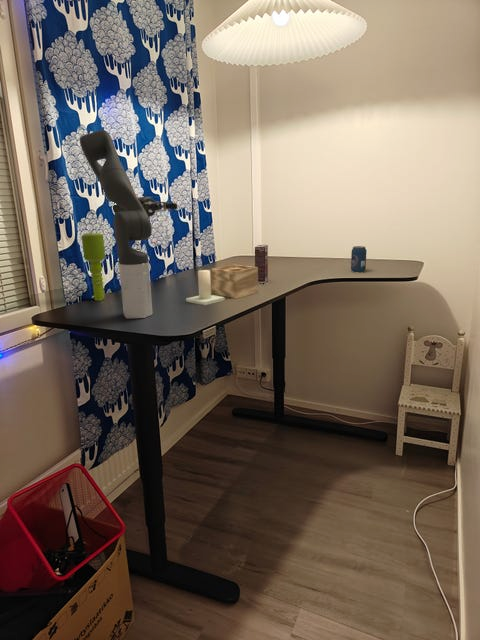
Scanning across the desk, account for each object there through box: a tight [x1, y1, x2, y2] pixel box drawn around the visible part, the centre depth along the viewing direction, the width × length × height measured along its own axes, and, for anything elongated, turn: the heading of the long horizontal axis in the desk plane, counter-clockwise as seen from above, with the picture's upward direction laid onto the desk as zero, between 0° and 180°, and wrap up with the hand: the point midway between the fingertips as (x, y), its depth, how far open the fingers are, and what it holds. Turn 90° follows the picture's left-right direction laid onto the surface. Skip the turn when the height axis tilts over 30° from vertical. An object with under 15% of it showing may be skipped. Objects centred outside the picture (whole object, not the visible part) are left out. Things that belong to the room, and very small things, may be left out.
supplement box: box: [254, 244, 269, 284], centre depth 196 cm, size 9×5×16 cm, turn 168°
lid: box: [185, 269, 226, 306], centre depth 164 cm, size 10×10×11 cm
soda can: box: [350, 245, 367, 273], centre depth 215 cm, size 7×7×12 cm
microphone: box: [81, 232, 106, 301], centre depth 169 cm, size 8×8×25 cm
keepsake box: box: [210, 264, 259, 299], centre depth 175 cm, size 13×13×10 cm
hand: (167, 206), depth 166 cm, fingers open, 8 cm apart
